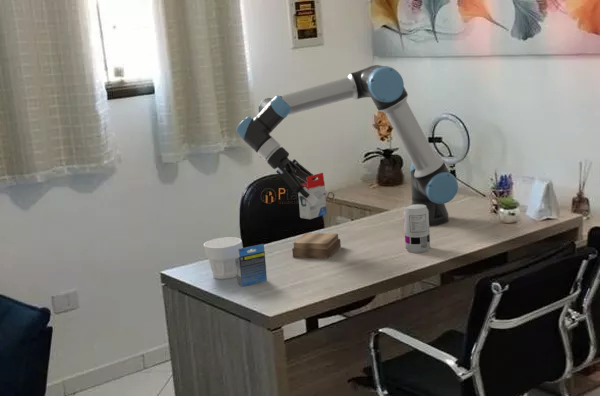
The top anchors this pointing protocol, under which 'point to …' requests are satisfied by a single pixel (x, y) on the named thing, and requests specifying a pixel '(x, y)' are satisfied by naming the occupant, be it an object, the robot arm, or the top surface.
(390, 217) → the top surface
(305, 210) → the ink box
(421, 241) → the supplement can
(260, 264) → the label tape box
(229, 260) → the cup
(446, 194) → the robot arm
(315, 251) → the pedestal
